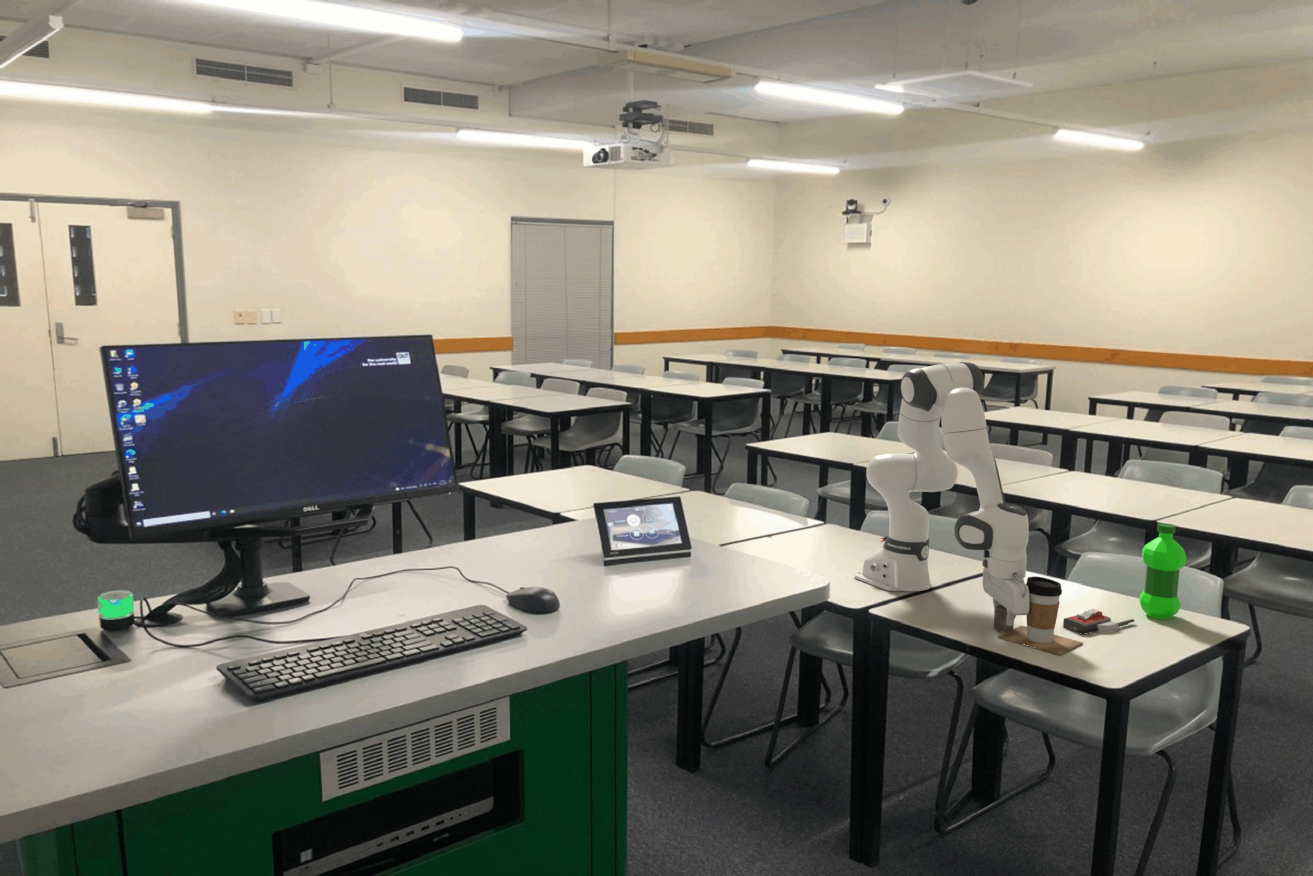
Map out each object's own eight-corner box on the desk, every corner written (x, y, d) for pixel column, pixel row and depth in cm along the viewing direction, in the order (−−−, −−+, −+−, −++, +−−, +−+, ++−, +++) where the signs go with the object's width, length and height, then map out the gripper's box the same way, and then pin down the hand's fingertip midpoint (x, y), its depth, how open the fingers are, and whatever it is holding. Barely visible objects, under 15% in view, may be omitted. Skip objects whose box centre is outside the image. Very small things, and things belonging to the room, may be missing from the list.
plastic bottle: (1141, 607, 264) (1149, 518, 260) (1184, 615, 258) (1193, 525, 254) (1132, 616, 257) (1140, 525, 253) (1175, 625, 250) (1184, 532, 246)
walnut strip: (984, 633, 243) (986, 610, 242) (1008, 622, 251) (1010, 600, 250) (1060, 655, 228) (1062, 631, 227) (1082, 643, 236) (1084, 619, 235)
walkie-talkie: (1087, 640, 240) (1137, 626, 250) (1089, 623, 240) (1138, 610, 250) (1057, 629, 248) (1106, 616, 258) (1058, 612, 247) (1108, 600, 257)
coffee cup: (1030, 630, 244) (1034, 573, 242) (1063, 639, 238) (1068, 581, 236) (1015, 638, 238) (1019, 580, 236) (1049, 648, 232) (1053, 588, 230)
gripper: (1038, 580, 233) (1034, 635, 235) (1002, 557, 253) (999, 607, 255) (1012, 580, 232) (1009, 635, 234) (979, 557, 252) (976, 607, 255)
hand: (1003, 620), depth 245 cm, fingers closed on walnut strip, 5 cm apart
